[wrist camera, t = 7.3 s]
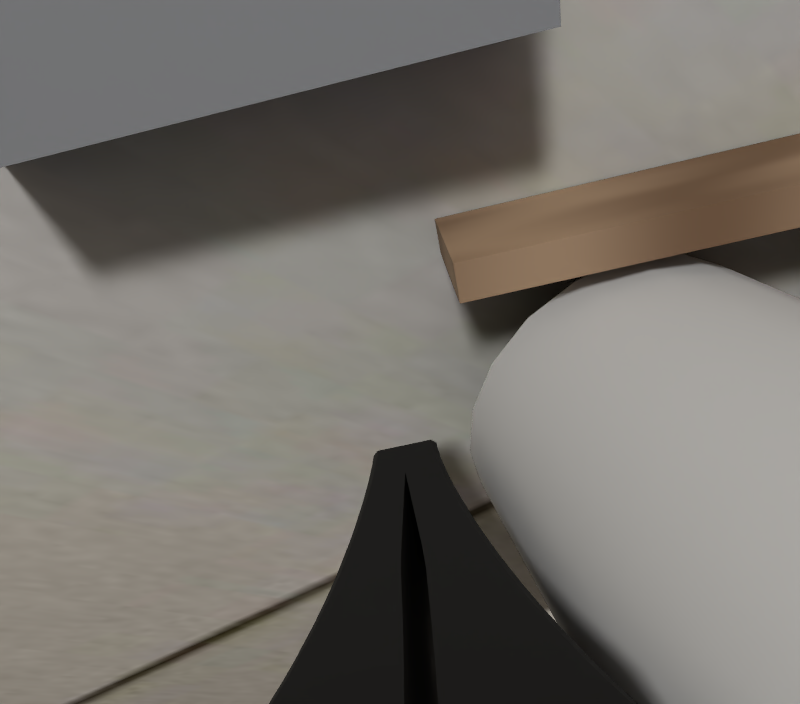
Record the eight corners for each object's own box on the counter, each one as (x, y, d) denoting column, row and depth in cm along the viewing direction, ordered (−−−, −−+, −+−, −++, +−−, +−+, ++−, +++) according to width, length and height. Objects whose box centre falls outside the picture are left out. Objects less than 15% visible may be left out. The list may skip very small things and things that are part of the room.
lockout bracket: (914, 101, 10) (1376, 156, 6) (820, 402, 14) (1038, 574, 10) (433, 214, 11) (491, 350, 6) (480, 471, 15) (534, 666, 10)
